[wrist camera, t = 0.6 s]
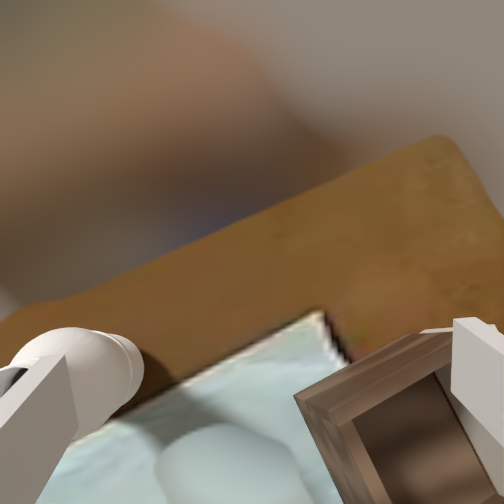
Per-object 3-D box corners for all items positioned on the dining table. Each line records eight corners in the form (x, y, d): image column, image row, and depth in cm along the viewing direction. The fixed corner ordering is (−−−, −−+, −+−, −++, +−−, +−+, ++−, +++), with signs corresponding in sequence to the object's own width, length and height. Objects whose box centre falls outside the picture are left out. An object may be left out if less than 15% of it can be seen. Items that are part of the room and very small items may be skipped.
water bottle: (90, 326, 43) (-30, 299, 19) (156, 345, 44) (118, 343, 20) (64, 395, 41) (-107, 461, 17) (132, 414, 42) (60, 504, 18)
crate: (491, 498, 46) (600, 552, 34) (378, 578, 42) (456, 670, 30) (405, 334, 48) (477, 329, 36) (293, 395, 45) (332, 412, 33)
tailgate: (511, 492, 45) (612, 537, 34) (501, 499, 44) (600, 547, 34) (425, 329, 47) (494, 324, 37) (415, 335, 47) (481, 331, 36)
